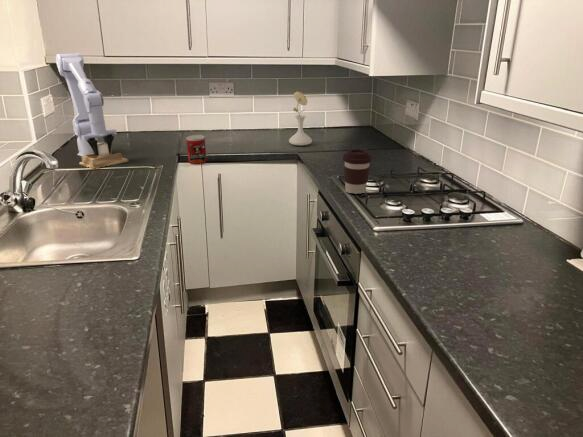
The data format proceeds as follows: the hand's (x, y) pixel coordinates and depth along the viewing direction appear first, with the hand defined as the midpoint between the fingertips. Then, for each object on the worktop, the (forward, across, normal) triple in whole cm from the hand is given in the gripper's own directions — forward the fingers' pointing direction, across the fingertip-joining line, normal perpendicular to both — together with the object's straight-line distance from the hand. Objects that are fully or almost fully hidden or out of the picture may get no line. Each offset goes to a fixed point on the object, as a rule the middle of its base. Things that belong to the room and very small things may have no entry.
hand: (102, 153), depth 201 cm
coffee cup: (+4, +41, -103) cm, 110 cm away
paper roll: (+2, 0, 0) cm, 2 cm away
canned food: (+4, +27, -30) cm, 41 cm away
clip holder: (+4, 0, 0) cm, 4 cm away
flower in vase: (+4, +79, -44) cm, 91 cm away
